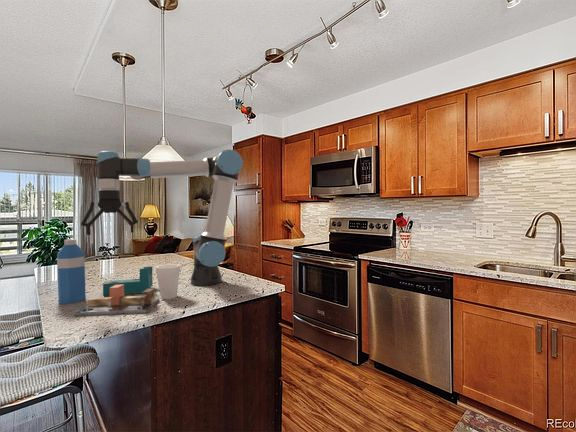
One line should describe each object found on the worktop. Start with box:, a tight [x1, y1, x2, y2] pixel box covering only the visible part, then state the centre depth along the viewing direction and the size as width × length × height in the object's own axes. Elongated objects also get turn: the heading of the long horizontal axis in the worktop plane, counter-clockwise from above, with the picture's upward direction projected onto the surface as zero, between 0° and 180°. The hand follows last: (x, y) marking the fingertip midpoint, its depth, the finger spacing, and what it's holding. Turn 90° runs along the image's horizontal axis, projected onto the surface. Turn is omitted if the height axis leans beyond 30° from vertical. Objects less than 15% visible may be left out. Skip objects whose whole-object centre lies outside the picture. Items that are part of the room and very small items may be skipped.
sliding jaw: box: [107, 284, 125, 308], centre depth 115 cm, size 3×9×6 cm, turn 5°
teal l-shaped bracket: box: [102, 266, 154, 297], centre depth 141 cm, size 18×11×10 cm, turn 105°
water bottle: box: [56, 238, 87, 305], centre depth 128 cm, size 9×9×25 cm
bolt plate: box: [74, 298, 160, 317], centre depth 116 cm, size 24×14×1 cm, turn 95°
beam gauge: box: [87, 287, 155, 307], centre depth 115 cm, size 23×9×5 cm, turn 95°
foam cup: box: [155, 263, 181, 300], centre depth 130 cm, size 10×9×13 cm
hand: (111, 242), depth 127 cm, fingers open, 13 cm apart
